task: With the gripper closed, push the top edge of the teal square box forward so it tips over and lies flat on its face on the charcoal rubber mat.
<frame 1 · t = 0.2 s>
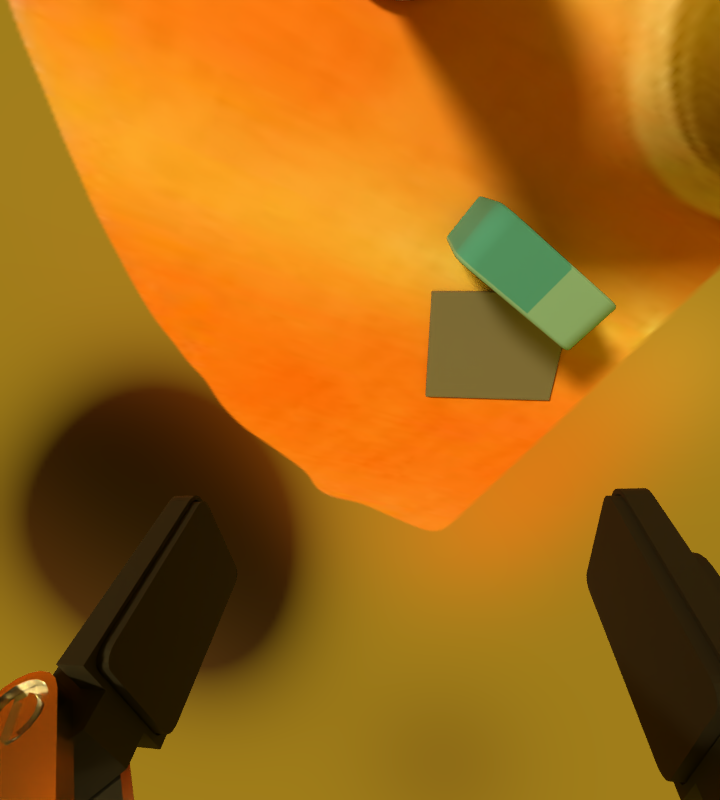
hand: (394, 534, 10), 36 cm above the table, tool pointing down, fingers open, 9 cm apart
mat: (493, 347, 45), on the table
teal square box: (507, 256, 40), on the table, touching mat
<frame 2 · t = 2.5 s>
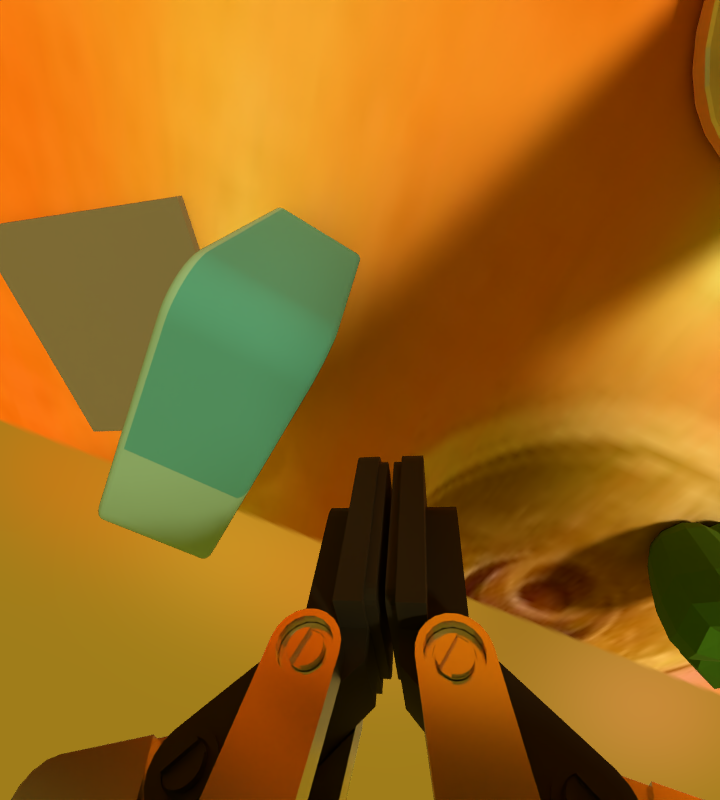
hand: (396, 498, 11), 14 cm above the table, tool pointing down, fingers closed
mat: (132, 333, 26), on the table
bell pepper: (691, 542, 29), on the table
teal square box: (278, 321, 24), on the table, touching mat
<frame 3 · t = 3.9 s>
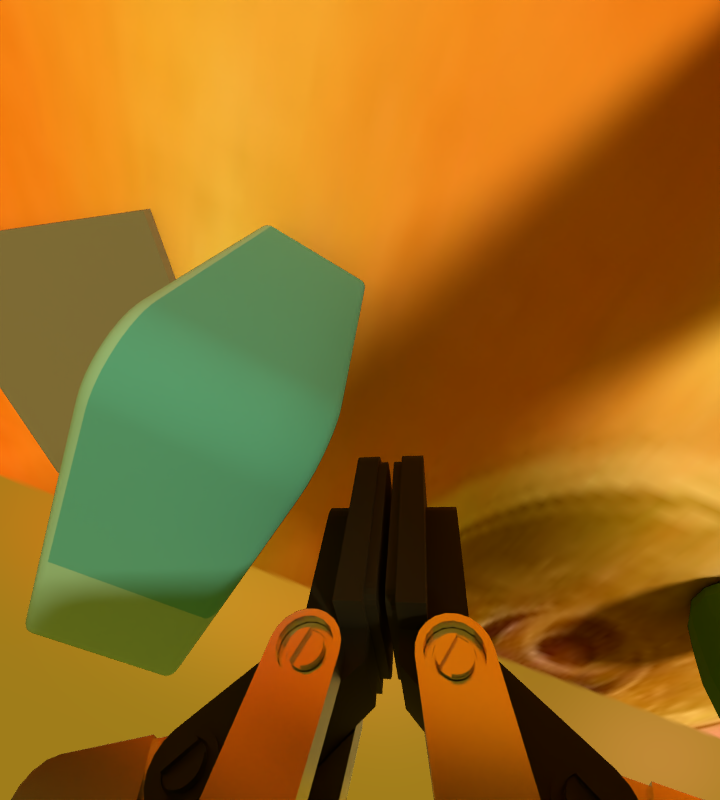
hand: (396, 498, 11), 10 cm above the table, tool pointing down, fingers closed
mat: (97, 365, 22), on the table
teal square box: (268, 354, 20), on the table, touching mat
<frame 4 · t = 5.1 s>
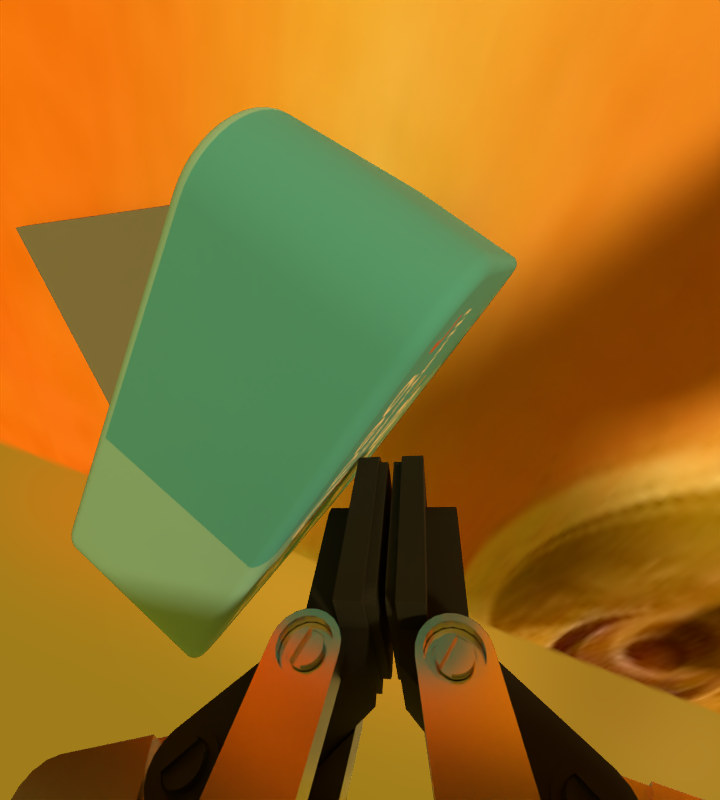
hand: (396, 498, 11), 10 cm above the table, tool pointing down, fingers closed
mat: (202, 356, 21), on the table
teal square box: (389, 350, 18), point 1 cm above the table, touching mat
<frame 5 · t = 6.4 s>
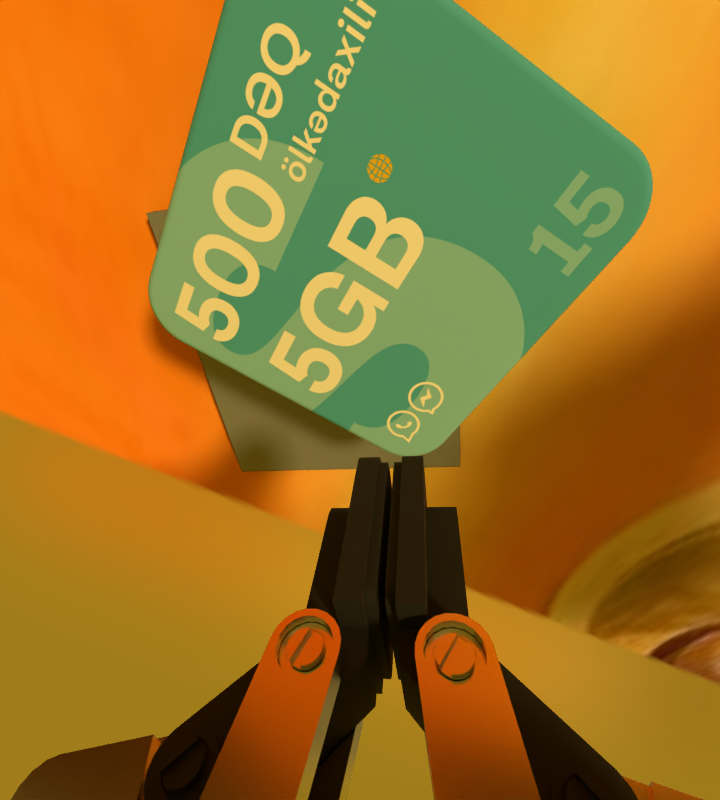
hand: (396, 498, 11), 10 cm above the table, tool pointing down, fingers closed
mat: (325, 351, 20), on the table
teal square box: (514, 336, 15), point 3 cm above the table, touching mat
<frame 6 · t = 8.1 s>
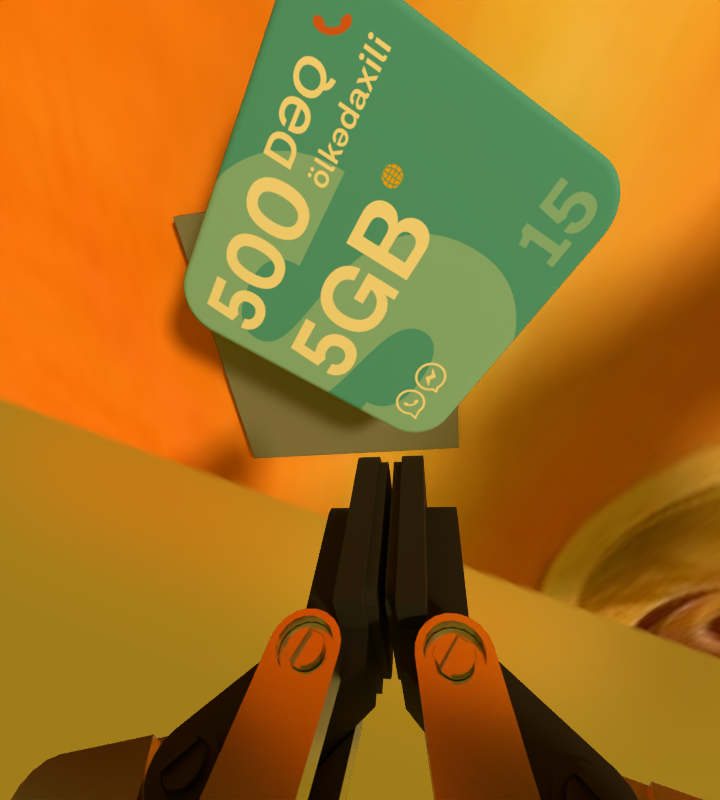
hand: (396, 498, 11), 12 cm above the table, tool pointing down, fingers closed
mat: (334, 342, 22), on the table
teal square box: (506, 323, 17), point 3 cm above the table, touching mat
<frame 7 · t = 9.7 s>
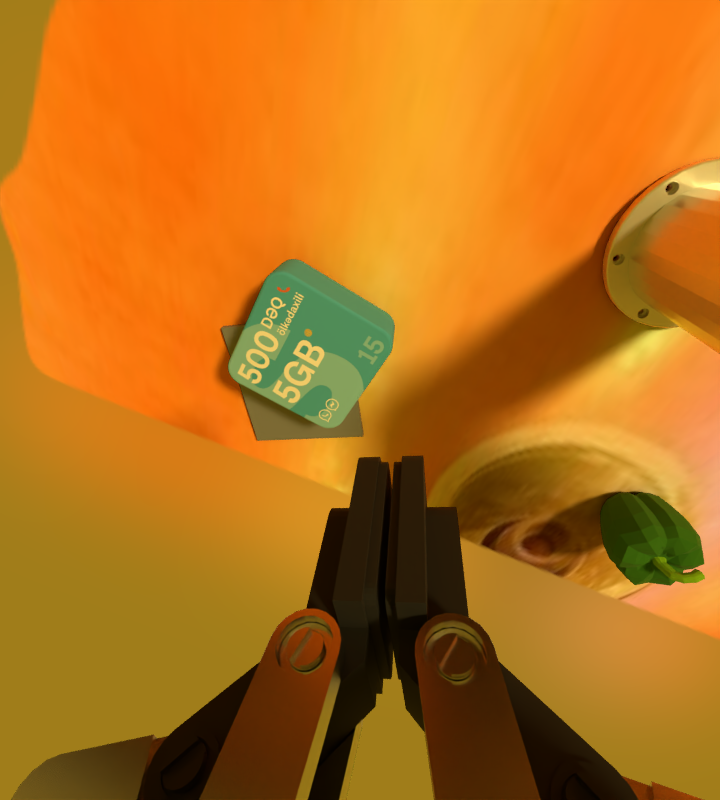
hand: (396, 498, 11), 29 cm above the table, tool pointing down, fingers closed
mat: (297, 383, 44), on the table
bell pepper: (626, 505, 48), on the table
teal square box: (368, 380, 39), point 3 cm above the table, touching mat
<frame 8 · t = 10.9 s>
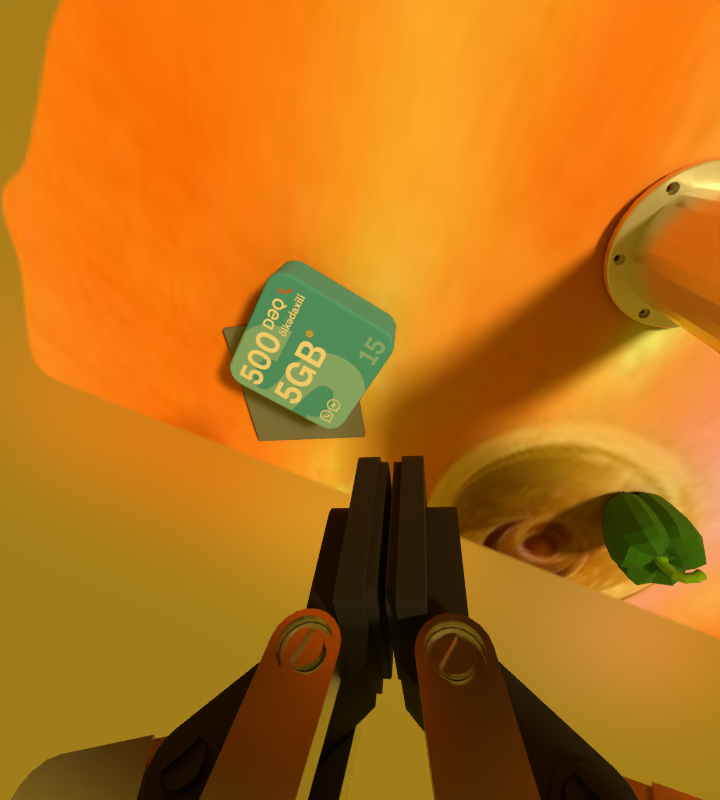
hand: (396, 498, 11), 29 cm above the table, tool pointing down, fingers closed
mat: (298, 383, 44), on the table
bell pepper: (628, 505, 48), on the table
teal square box: (369, 381, 39), point 3 cm above the table, touching mat
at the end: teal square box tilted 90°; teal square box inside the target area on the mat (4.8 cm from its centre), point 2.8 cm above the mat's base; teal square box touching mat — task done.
